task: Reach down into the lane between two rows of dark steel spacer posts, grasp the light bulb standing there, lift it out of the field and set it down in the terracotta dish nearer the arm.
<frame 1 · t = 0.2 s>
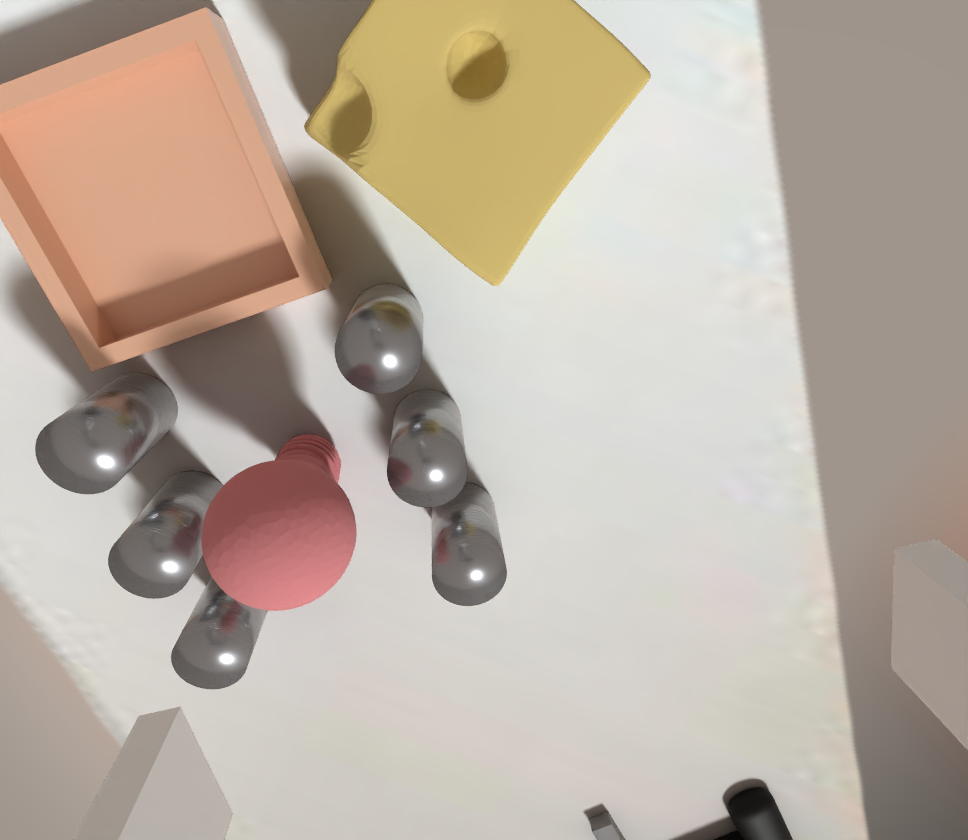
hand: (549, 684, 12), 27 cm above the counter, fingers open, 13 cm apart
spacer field: (310, 461, 40), on the counter
dish: (164, 202, 34), on the counter
light bulb: (311, 459, 40), on the counter
cheese: (463, 116, 34), on the counter
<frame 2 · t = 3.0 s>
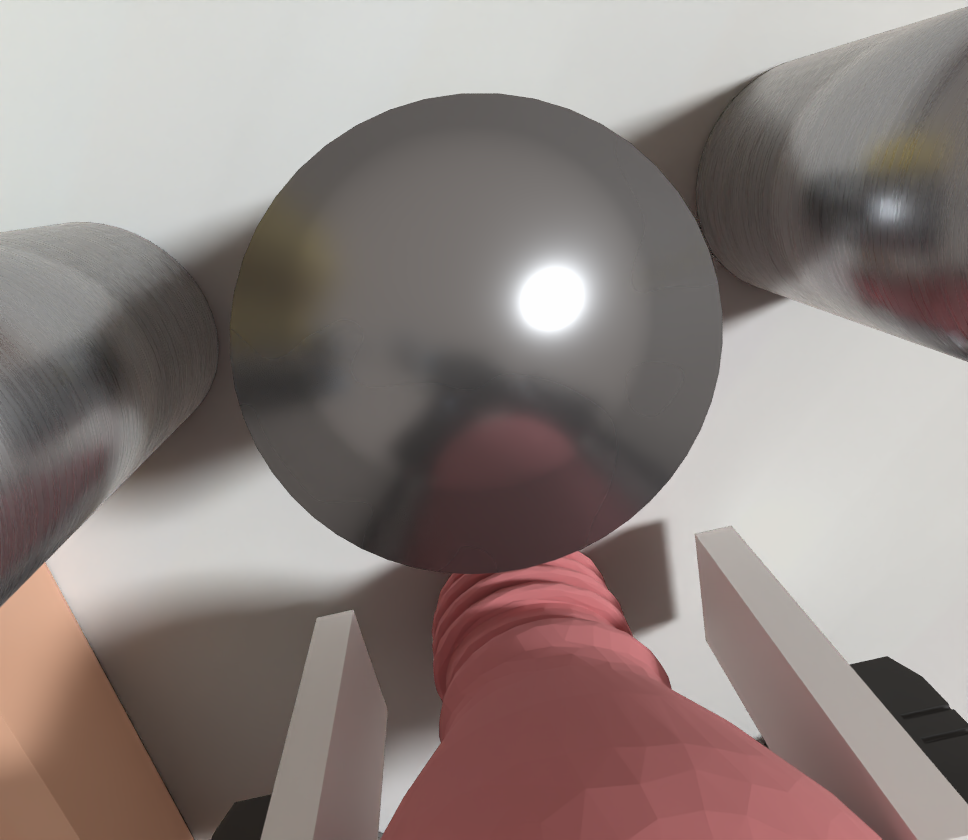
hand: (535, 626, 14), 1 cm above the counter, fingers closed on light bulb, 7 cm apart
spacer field: (528, 595, 15), on the counter
light bulb: (526, 589, 15), on the counter, touching gripper
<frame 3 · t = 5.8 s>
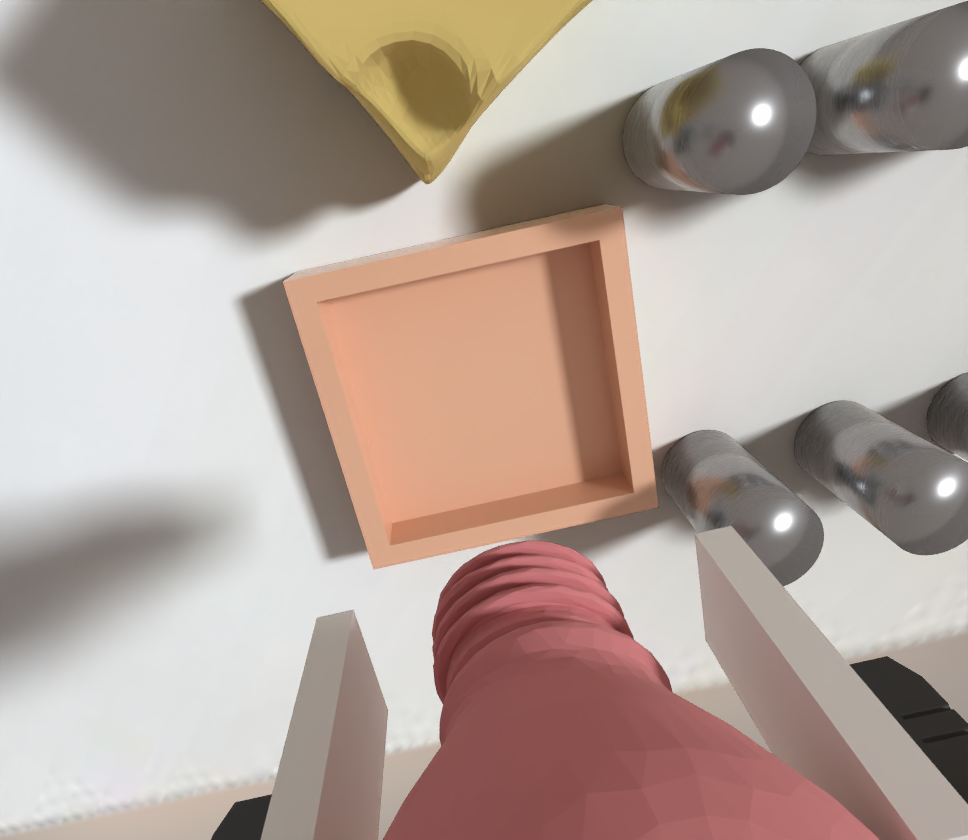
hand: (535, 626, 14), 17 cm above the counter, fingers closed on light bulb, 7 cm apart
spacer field: (833, 286, 29), on the counter
dish: (482, 385, 29), on the counter
light bulb: (527, 591, 15), point 16 cm above the counter, touching gripper
when the fingers open (3 cm above the counter, at t = 8.8 s): light bulb drops 1 cm, resting on dish.
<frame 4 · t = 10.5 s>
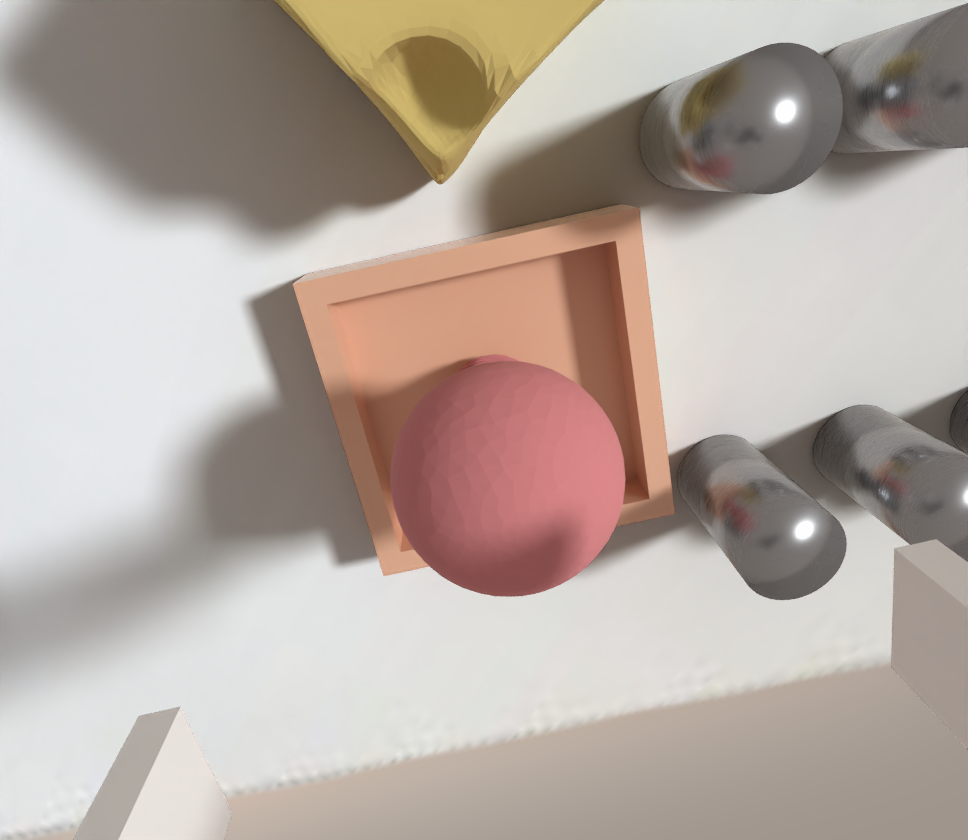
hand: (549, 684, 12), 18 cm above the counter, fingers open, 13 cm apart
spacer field: (854, 287, 28), on the counter
dish: (494, 388, 29), on the counter
light bulb: (497, 392, 28), resting on dish
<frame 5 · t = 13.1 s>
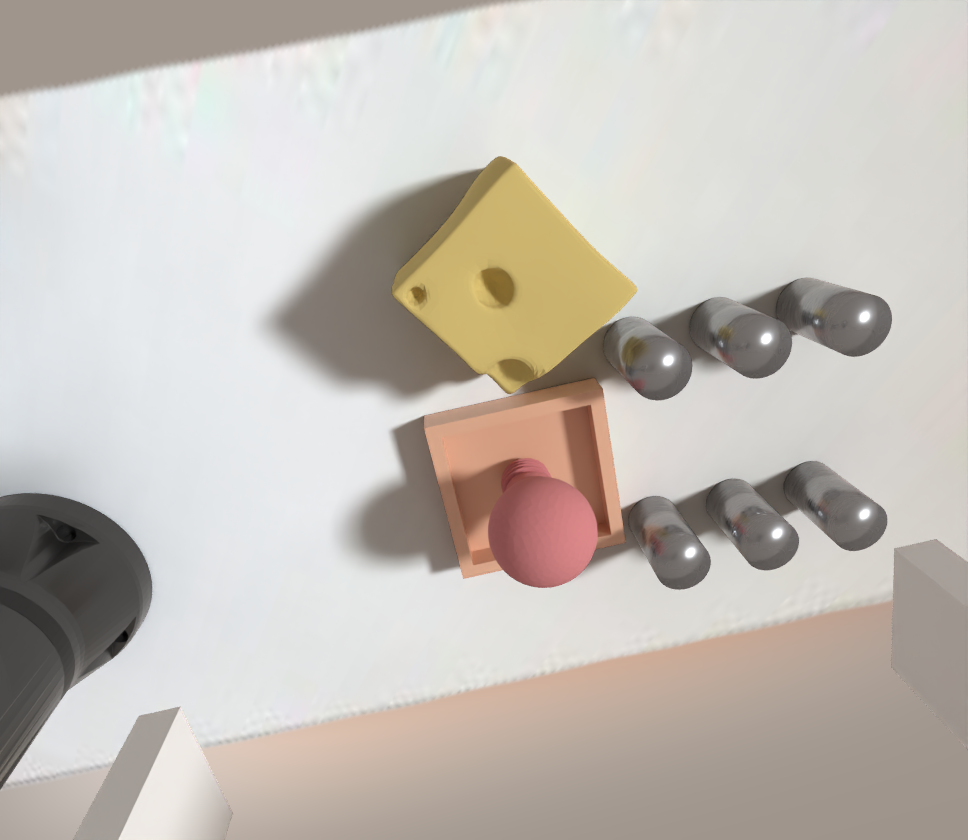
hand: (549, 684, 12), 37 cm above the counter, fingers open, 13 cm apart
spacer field: (723, 417, 51), on the counter
dish: (524, 473, 51), on the counter
light bulb: (526, 475, 51), resting on dish
cheese: (496, 266, 46), on the counter
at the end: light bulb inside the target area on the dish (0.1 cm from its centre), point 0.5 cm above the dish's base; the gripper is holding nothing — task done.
